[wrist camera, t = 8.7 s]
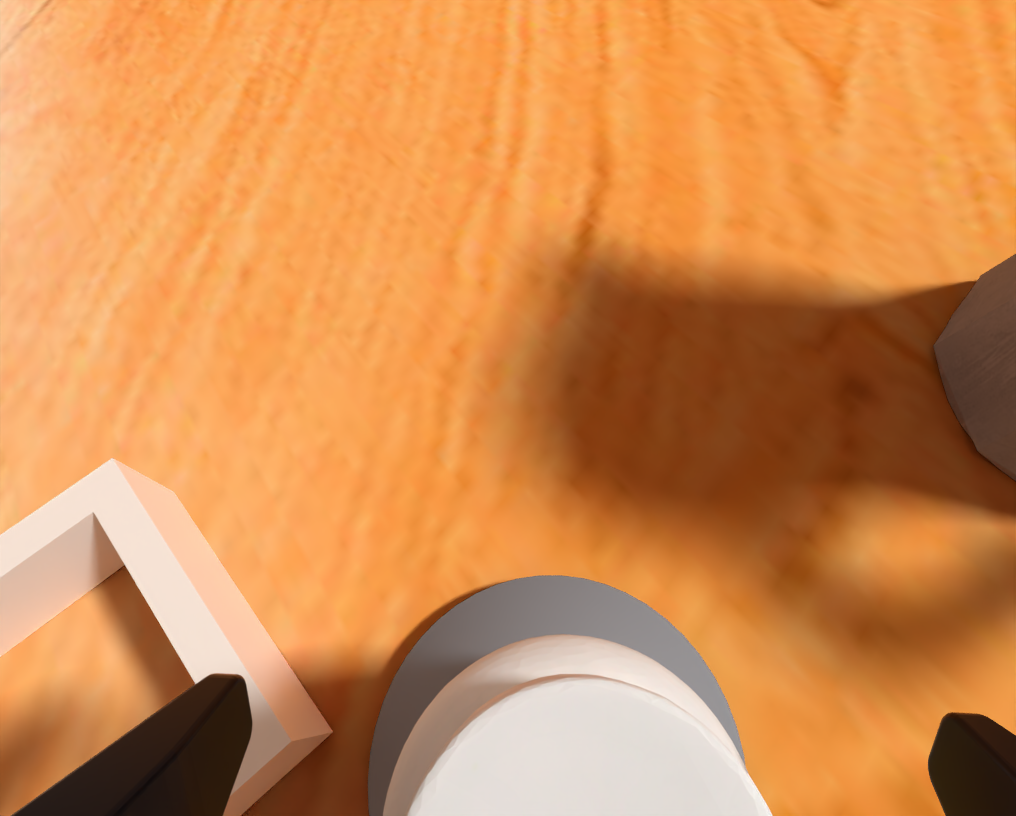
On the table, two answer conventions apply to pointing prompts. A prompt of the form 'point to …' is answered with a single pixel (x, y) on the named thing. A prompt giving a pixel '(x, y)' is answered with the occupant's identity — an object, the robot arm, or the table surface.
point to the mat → (518, 617)
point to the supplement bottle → (569, 740)
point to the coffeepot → (984, 365)
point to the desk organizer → (159, 604)
